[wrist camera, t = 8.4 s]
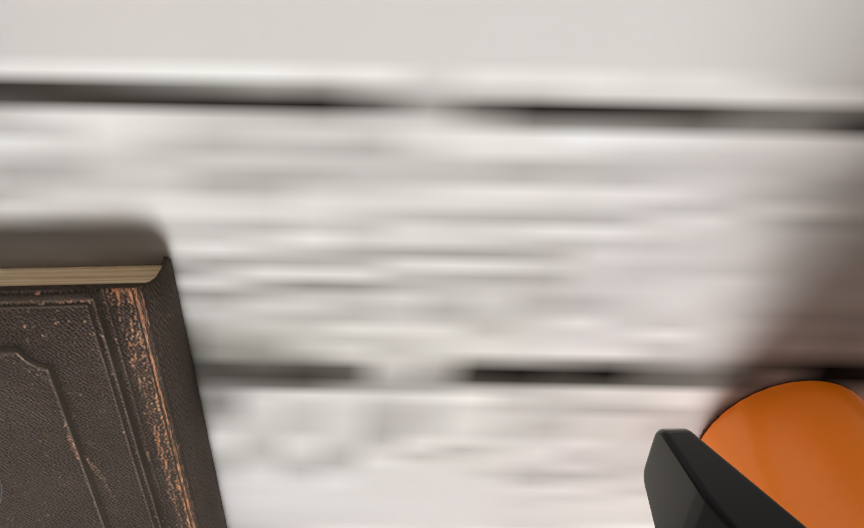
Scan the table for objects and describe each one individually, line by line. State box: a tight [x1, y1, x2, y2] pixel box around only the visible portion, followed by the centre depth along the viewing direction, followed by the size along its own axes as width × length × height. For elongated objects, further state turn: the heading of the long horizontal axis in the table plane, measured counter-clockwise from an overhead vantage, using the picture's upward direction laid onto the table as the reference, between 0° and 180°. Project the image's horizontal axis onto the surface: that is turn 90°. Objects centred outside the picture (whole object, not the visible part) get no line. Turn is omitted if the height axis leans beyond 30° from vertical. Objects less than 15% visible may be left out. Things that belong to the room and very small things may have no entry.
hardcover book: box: [0, 257, 227, 528], centre depth 26 cm, size 16×23×2 cm
